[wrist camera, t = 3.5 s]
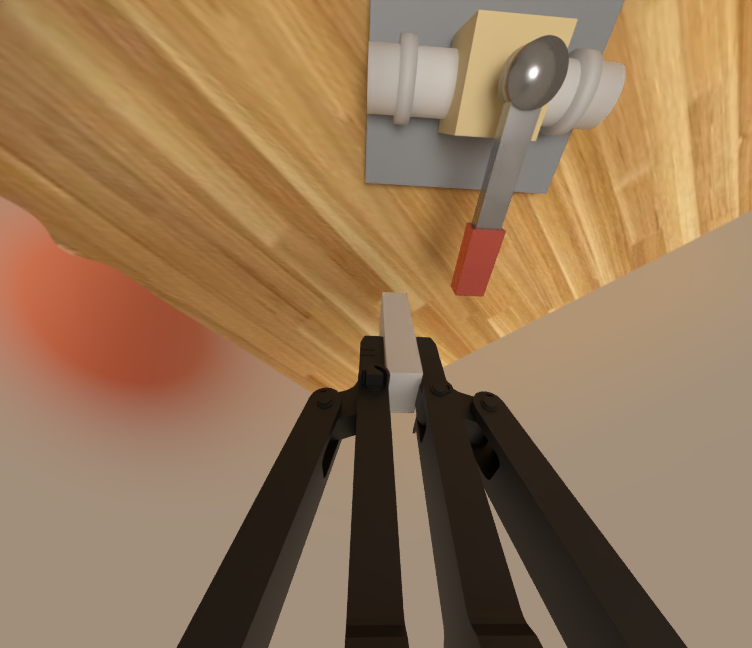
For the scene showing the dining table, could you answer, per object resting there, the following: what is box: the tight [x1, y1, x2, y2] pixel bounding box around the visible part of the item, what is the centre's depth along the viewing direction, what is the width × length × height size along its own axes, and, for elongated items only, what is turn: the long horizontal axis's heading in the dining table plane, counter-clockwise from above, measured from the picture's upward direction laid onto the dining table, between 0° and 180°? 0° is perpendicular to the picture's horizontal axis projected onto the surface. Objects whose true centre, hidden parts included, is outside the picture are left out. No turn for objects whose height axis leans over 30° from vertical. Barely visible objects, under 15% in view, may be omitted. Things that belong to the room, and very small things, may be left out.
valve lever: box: [451, 35, 569, 296], centre depth 20 cm, size 17×3×2 cm, turn 177°
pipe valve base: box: [365, 0, 626, 194], centre depth 22 cm, size 20×16×11 cm
